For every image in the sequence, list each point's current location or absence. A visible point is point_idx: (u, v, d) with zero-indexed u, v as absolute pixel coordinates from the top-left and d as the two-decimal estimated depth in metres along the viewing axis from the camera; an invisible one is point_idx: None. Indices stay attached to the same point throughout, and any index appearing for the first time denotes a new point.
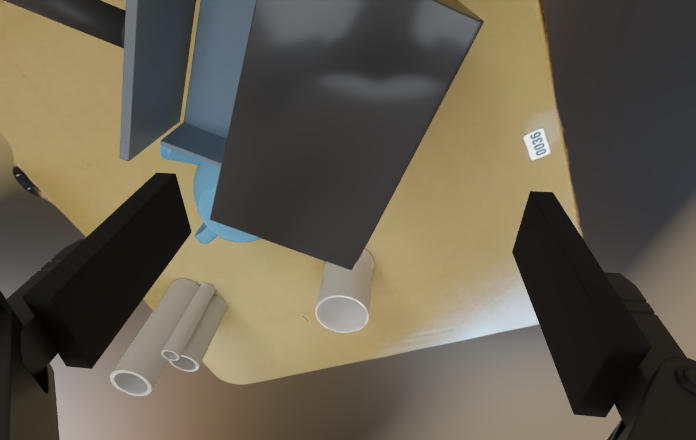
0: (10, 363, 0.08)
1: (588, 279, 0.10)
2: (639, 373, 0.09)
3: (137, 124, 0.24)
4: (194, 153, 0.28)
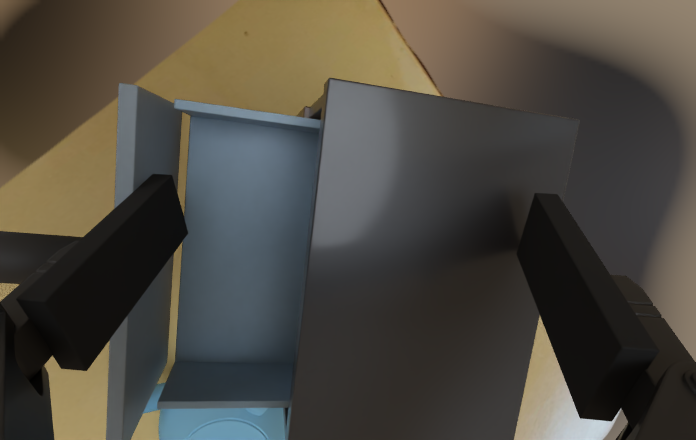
0: (4, 365, 0.08)
1: (594, 282, 0.10)
2: (647, 377, 0.09)
3: (131, 391, 0.16)
4: (211, 401, 0.19)
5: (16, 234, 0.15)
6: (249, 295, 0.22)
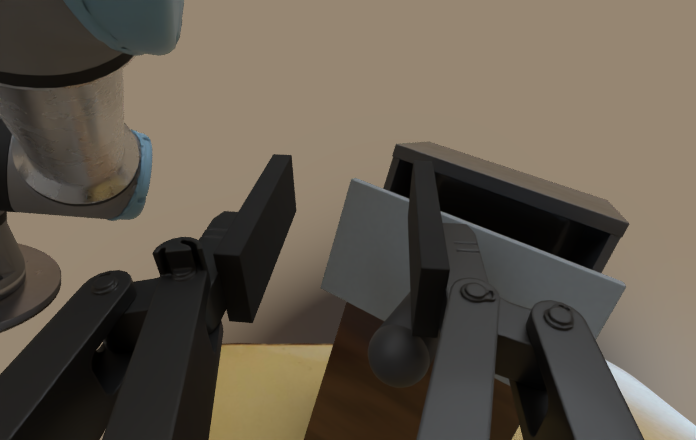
0: (196, 322, 0.09)
1: (425, 224, 0.12)
2: (445, 292, 0.11)
3: None
4: None
5: None
6: None
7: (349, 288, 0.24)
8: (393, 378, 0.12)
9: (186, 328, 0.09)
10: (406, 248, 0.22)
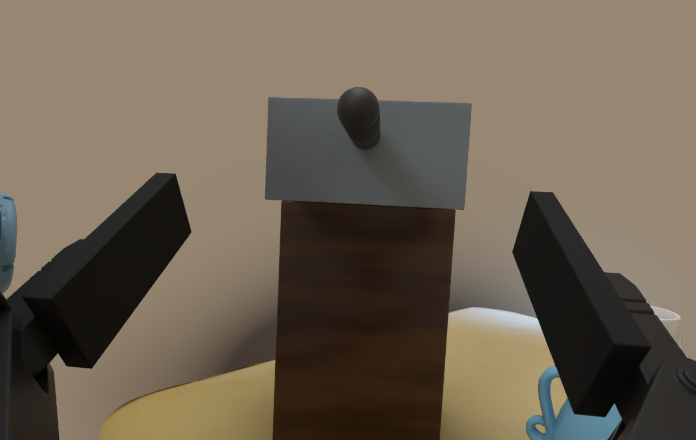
0: (10, 363, 0.08)
1: (588, 279, 0.10)
2: (639, 373, 0.09)
3: None
4: None
5: None
6: None
7: (290, 187, 0.28)
8: (361, 111, 0.18)
9: None
10: (326, 135, 0.28)
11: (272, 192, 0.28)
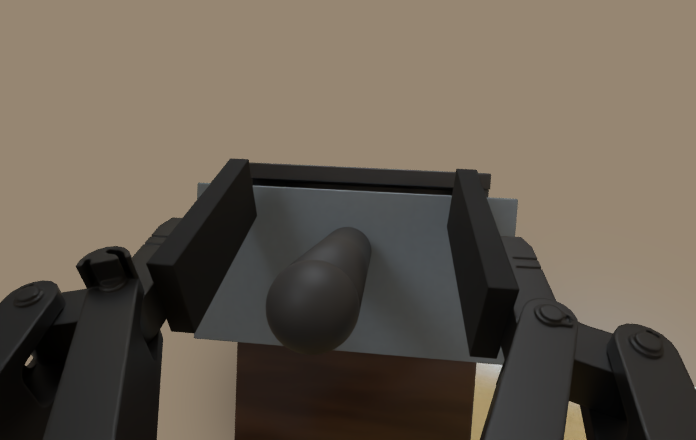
0: (131, 330, 0.09)
1: (483, 239, 0.12)
2: (512, 313, 0.10)
3: None
4: None
5: None
6: None
7: (232, 322, 0.18)
8: (315, 332, 0.08)
9: (120, 337, 0.09)
10: (287, 243, 0.18)
11: (205, 328, 0.18)
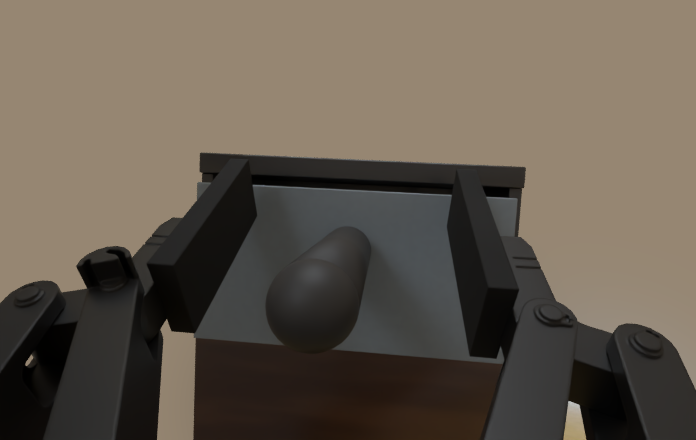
0: (131, 330, 0.09)
1: (483, 238, 0.12)
2: (512, 313, 0.10)
3: None
4: None
5: None
6: None
7: (232, 321, 0.18)
8: (315, 331, 0.08)
9: (120, 337, 0.09)
10: (287, 243, 0.18)
11: (204, 328, 0.18)
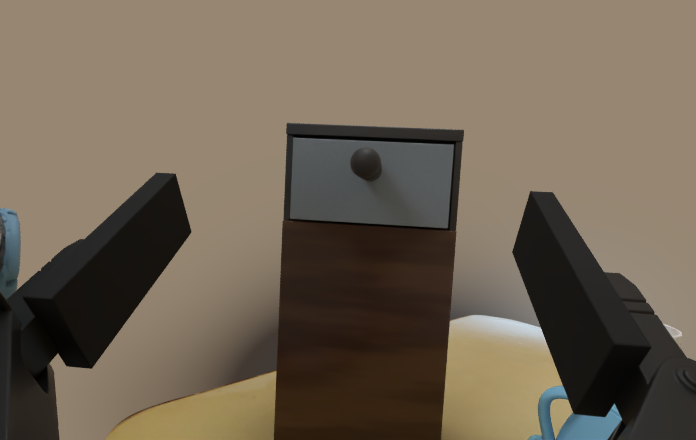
0: (10, 363, 0.08)
1: (588, 279, 0.10)
2: (640, 373, 0.09)
3: None
4: None
5: None
6: None
7: (310, 209, 0.36)
8: (367, 165, 0.25)
9: None
10: (339, 168, 0.35)
11: (295, 213, 0.36)
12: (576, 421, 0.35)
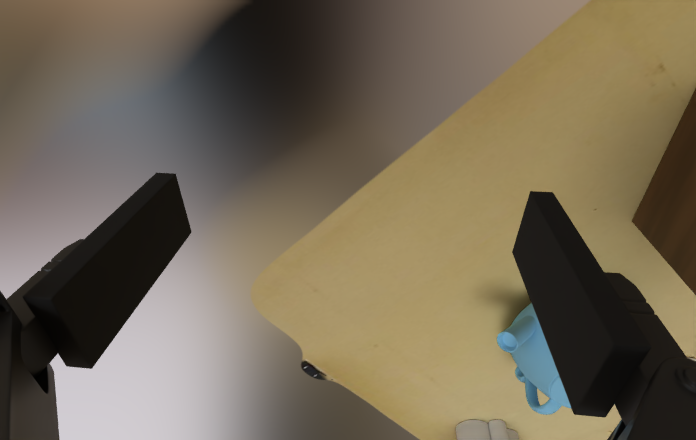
0: (10, 363, 0.08)
1: (588, 279, 0.10)
2: (640, 372, 0.09)
3: None
4: None
5: None
6: None
7: None
8: None
9: None
10: None
11: None
12: None
